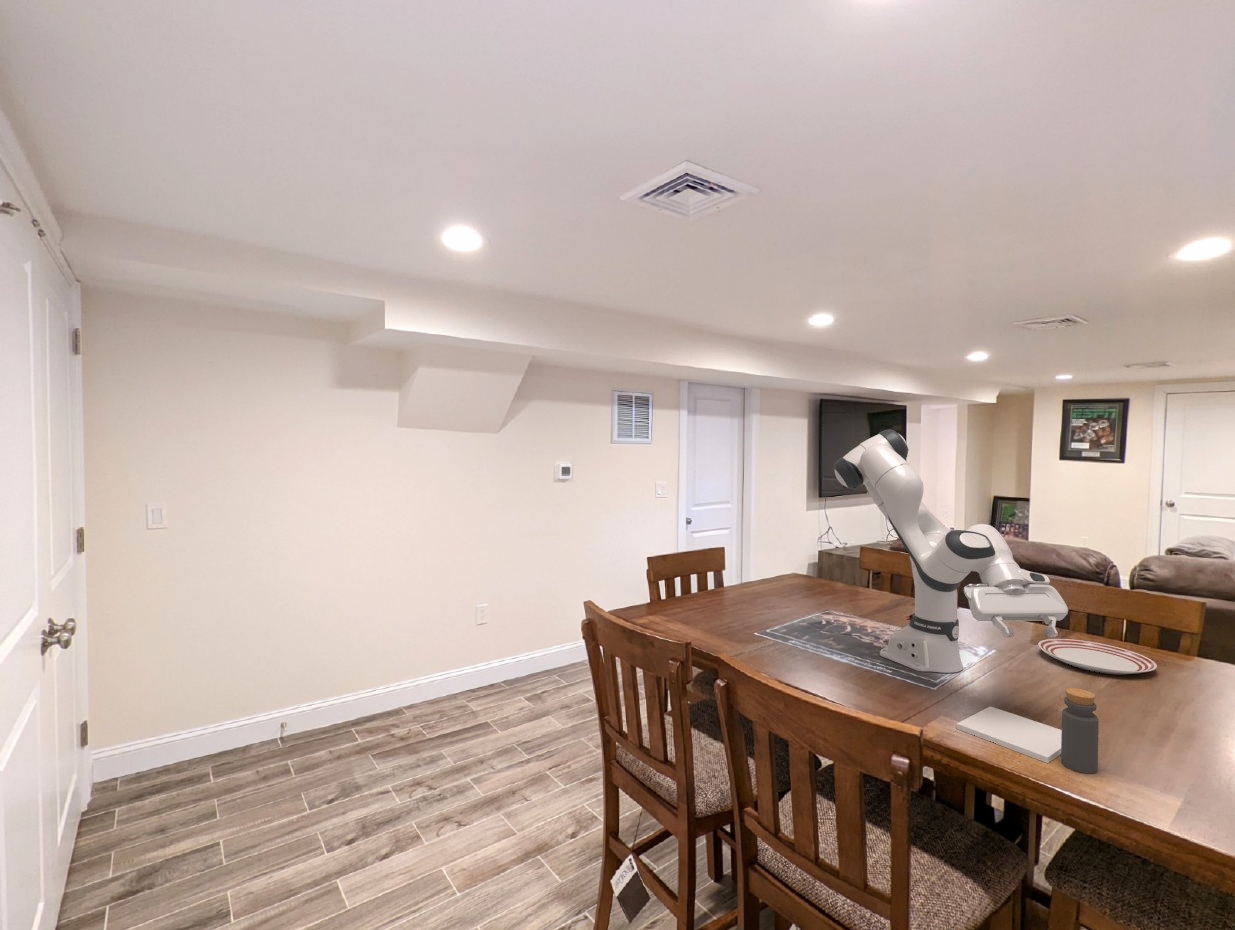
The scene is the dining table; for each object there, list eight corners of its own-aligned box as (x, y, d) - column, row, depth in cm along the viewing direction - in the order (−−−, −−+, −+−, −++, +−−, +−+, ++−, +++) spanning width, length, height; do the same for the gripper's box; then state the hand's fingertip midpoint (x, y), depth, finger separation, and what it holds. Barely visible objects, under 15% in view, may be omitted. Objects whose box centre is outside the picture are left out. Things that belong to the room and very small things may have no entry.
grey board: (956, 728, 136) (956, 723, 136) (990, 711, 144) (990, 706, 144) (1047, 763, 121) (1047, 757, 121) (1078, 741, 130) (1079, 735, 130)
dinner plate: (1110, 649, 188) (1110, 638, 188) (1183, 683, 161) (1184, 671, 161) (1018, 646, 191) (1019, 636, 191) (1075, 680, 164) (1076, 668, 164)
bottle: (1053, 759, 122) (1054, 687, 122) (1080, 757, 123) (1081, 686, 122) (1078, 774, 116) (1079, 699, 116) (1105, 773, 117) (1107, 698, 116)
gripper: (965, 576, 142) (989, 629, 132) (1054, 575, 140) (1085, 628, 131) (956, 591, 146) (978, 643, 137) (1042, 590, 145) (1071, 642, 135)
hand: (1031, 636), depth 134 cm, fingers open, 8 cm apart
